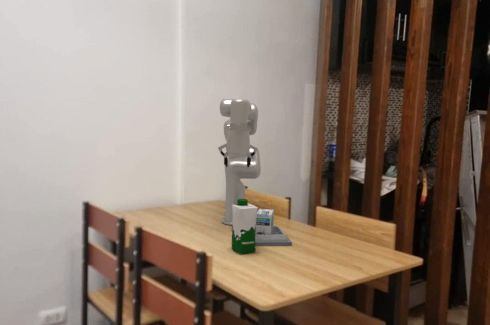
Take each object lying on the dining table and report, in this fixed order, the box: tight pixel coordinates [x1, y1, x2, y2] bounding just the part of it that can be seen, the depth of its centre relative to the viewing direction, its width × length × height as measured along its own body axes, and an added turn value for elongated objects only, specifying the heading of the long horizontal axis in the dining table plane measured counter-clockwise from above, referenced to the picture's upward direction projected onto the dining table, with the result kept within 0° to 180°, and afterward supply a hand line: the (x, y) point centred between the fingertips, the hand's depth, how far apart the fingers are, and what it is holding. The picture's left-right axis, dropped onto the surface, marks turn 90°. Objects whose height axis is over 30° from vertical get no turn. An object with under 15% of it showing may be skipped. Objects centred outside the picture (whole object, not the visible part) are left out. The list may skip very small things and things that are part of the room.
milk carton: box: [231, 198, 259, 255], centre depth 170 cm, size 9×9×20 cm
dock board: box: [255, 232, 293, 247], centre depth 187 cm, size 19×19×2 cm
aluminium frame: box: [255, 225, 288, 241], centre depth 187 cm, size 15×15×2 cm
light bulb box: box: [256, 208, 275, 235], centre depth 186 cm, size 11×7×11 cm, turn 171°
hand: (237, 166), depth 191 cm, fingers open, 9 cm apart
